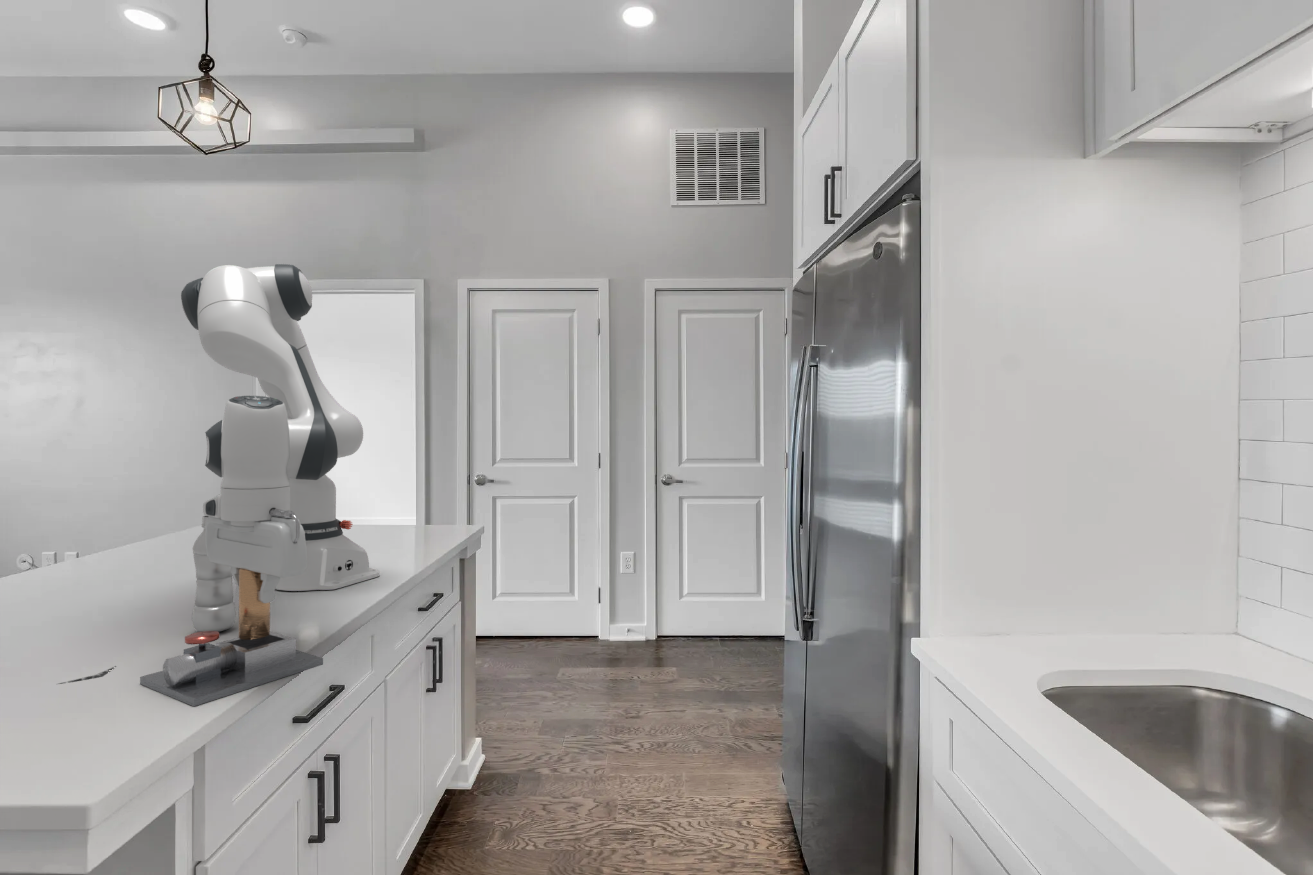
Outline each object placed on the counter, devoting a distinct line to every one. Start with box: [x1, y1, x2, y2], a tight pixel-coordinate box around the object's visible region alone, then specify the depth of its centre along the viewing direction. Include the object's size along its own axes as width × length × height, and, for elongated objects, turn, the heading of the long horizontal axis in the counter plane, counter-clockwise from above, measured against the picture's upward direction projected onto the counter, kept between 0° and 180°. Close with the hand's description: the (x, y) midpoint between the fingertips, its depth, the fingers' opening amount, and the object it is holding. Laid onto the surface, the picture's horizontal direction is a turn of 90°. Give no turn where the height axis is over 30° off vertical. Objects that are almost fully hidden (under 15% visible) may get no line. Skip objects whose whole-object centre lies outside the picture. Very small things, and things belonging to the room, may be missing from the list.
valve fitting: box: [139, 630, 324, 707], centre depth 99 cm, size 18×14×7 cm
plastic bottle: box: [191, 515, 237, 633], centre depth 118 cm, size 6×7×20 cm
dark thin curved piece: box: [57, 665, 117, 685], centre depth 98 cm, size 13×1×5 cm
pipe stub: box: [238, 569, 271, 640], centre depth 101 cm, size 4×4×10 cm
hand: (255, 599), depth 101 cm, fingers closed on pipe stub, 4 cm apart
